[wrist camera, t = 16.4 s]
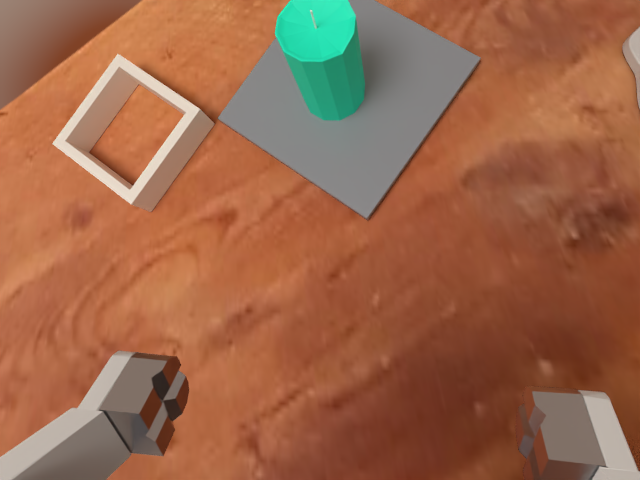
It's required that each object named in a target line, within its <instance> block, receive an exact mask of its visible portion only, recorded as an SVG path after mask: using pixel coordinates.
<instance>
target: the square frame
mask: <svg viewBox="0 0 640 480" xmlns="http://www.w3.org/2000/svg"><path fill="white" fill-rule="evenodd" d="M139 84H140V85H141V86H143V87H144V88H146V89H147V90H149V91H150V92H152V93H153V94H154V95H156V96H157V97H159V98H160V99H162V100H163V101H165V102H166V103H168V104H169V105H171V106H172V107H174V108H175V109H176V110H178V111H179V112H181V113H182V114H184V116H183V117H182V119H181V120H180V122H179V123H178V124H177V126H176V127H175V128H174V130H173V131H172V133H171V134H170V135H169V137H168V138H167V140H166V141H165V142H164V144H163V145H162V146H161V148H160V149H159V151H158V152H157V153H156V155H155V156H154V158H153V159H152V160H151V162H150V163H149V164H148V166H147V167H146V169H145V170H144V171H143V173H142V174H141V175H140V177H139V178H138V180H137V181H136V182H135V184H134V185H133V186H132V185H131V184H130V183H129V182H127V181H126V180H125V179H123V178H122V177H121V176H119V175H118V174H117V173H115V172H114V171H113V170H111V169H110V168H109V167H107V166H106V165H105V164H103V163H102V162H101V161H99V160H98V159H97V158H95V157H94V156H93V155H91V154H90V153H89V152H90V150H91V149H92V148H93V146H94V145H95V144H96V142H97V141H98V139H99V138H100V137H101V135H102V134H103V133H104V131H105V130H106V128H107V127H108V126H109V124H110V123H111V122H112V120H113V119H114V117H115V116H116V115H117V113H118V112H119V111H120V109H121V108H122V106H123V105H124V104H125V102H126V101H127V100H128V98H129V97H130V95H131V94H132V93H133V91H134V90H135V89H136V87H137V86H138V85H139ZM214 124H215V123H214V122H213V121H212V120H211V119H210V118H209V117H208V116H207V115H206V114H205V113H204V112H203V111H202V110H201V109H199V108H198V107H196V106H195V105H193V104H192V103H190V102H189V101H187V100H186V99H184V98H183V97H181V96H180V95H178V94H177V93H176V92H174V91H173V90H171V89H170V88H168V87H167V86H165V85H164V84H162V83H161V82H159V81H158V80H156V79H155V78H153V77H152V76H150V75H149V74H147V73H146V72H144V71H143V70H141V69H140V68H138V67H137V66H135V65H134V64H132V63H131V62H129V61H128V60H126V59H125V58H124V57H122V56H121V55H119V54H117V56H116V57H115V59H114V60H113V61H112V63H111V64H110V65H109V67H108V68H107V70H106V71H105V72H104V74H103V75H102V76H101V78H100V79H99V80H98V82H97V83H96V85H95V86H94V87H93V89H92V90H91V91H90V93H89V94H88V96H87V97H86V98H85V100H84V101H83V102H82V104H81V105H80V106H79V108H78V109H77V111H76V112H75V113H74V115H73V116H72V117H71V119H70V120H69V122H68V123H67V124H66V126H65V127H64V128H63V130H62V131H61V133H60V134H59V135H58V137H57V138H56V139H55V141H54V142H53V143H52V144H53V145H55V146H56V147H57V148H58V149H60V150H61V151H62V152H64V153H65V154H66V155H68V156H69V157H70V158H71V159H73V160H74V161H75V162H77V163H78V164H79V165H81V166H82V167H83V168H84V169H86V170H87V171H88V172H90V173H91V174H92V175H94V176H95V177H96V178H97V179H99V180H100V181H101V182H103V183H104V184H105V185H107V186H108V187H109V188H110V189H112V190H113V191H114V192H116V193H117V194H118V195H120V196H121V197H122V198H123V199H125V200H126V201H127V202H129V203H130V204H131V205H134V206H137V207H139V208H142V209H144V210H147V211H150V212H152V210H153V209H154V208H155V206H156V205H157V203H158V202H159V201H160V199H161V198H162V196H163V195H164V194H165V192H166V191H167V190H168V188H169V187H170V185H171V184H172V183H173V181H174V180H175V178H176V177H177V176H178V174H179V173H180V172H181V170H182V169H183V167H184V166H185V165H186V163H187V162H188V160H189V159H190V158H191V156H192V155H193V154H194V152H195V151H196V149H197V148H198V147H199V145H200V144H201V142H202V141H203V140H204V138H205V137H206V135H207V134H208V133H209V131H210V130H211V129H212V127H213V126H214Z"/></svg>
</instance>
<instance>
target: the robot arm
mask: <svg viewBox="0 0 640 480" xmlns="http://www.w3.org/2000/svg"><path fill="white" fill-rule="evenodd" d="M622 48H623V53H624V56H625V58H626V60H627V62H628V64H629V66H630V67H631V69H632V71H633V72H634V74H635V78H636V84H637V99H638V105H639V109H640V26H639V27H638V28H637V29H636V30H635V31H634V32H633V33H632V34H631V35H630V36H629V37H628V38H627V39H626V40H625V42H624V43H623V47H622ZM180 366H181V364H180V362H179V360H178V358H177V356H167V355H157V354H147V353H139V352H128V351H117V352H116V353H115V354H114V355H112V356H111V358H110V359H109V361H108V362H107V364H106V365H105V367H104V368H103V370H102V372H101V373H100V375H99V376H98V378H97V379H96V381H95V382H94V384H93V385H92V387H91V388H90V390H89V391H88V393H87V394H86V396H85V397H84V399H83V400H82V402H81V404H80V405H79V407H78V408H71V409H69V410H68V411H67V412H65V413H64V414H62V415H61V416H59V417H58V418H56V419H55V420H54V421H52V422H51V423H49V424H48V425H46V426H45V427H43V428H42V429H40V430H39V431H38V432H36V433H35V434H33V435H32V436H30V437H29V438H27V439H26V440H25V441H23V442H22V443H20V444H19V445H17V446H16V447H14V448H13V449H11V450H10V451H9V452H7V453H6V454H4V455H3V456H1V457H0V480H106V479H107V478H108V477H109V476H110V475H111V474H112V473H113V472H114V471H115V470H116V469H117V468H118V467H119V466H121V465H122V464H123V463H124V462H125V461H126V460H127V459H128V458H129V457H130V456H131V453H136V454H146V455H157V456H164V454H165V451H166V449H167V447H168V445H169V442H170V440H171V438H172V436H173V434H174V431H175V428H174V424H173V421H174V420H175V419H176V418H177V417H179V416H180V415H181V414H182V413H183V411H184V408H185V406H186V404H187V400H188V394H189V384H188V380H187V378H186V376H185V375H184V374H183V373H181V372H180V371H179V368H180ZM523 400H524V404H523V405H521V406H520V407H518V411H517V415H516V438H517V444H518V450H519V451H520V452H521V453H522V455H523V456H524V457H525V458H526V459H527V460H526V463H525V466H524V468H523V475H524V480H640V471H638V468H637V466H636V463H635V461H634V458H633V456H632V453H631V451H630V448H629V446H628V443H627V441H626V438H625V436H624V433H623V431H622V428H621V426H620V423H619V421H618V418H617V416H616V413H615V411H614V408H613V406H612V403H611V401H610V398H609V397H608V396H607V395H606V393H604V392H600V391H585V390H576V389H568V388H554V387H539V386H527V387H526V388H525V389H524V392H523Z"/></svg>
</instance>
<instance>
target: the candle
mask: <svg viewBox="0 0 640 480" xmlns="http://www.w3.org/2000/svg"><path fill="white" fill-rule="evenodd" d="M275 35H276V38H277V40H278V42H279V44H280V47H281V49H282V51H283V53H284V56H285V58H286V60H287V62H288V65H289V67H290V69H291V71H292V74H293V76H294V78H295V80H296V83H297V85H298V87H299V89H300V92H301V94H302V96H303V98H304V101H305V103H306V105H307V106H308V108H309V110H310V112H311V113H312V114H314V115H316V116H317V117H319V118H321V119H322V120H337V121H340V120H342V119H344V118H346V117H348V116H350V115H351V114H353V113H355V112H356V110H357V109H358V107H359V106H360V104H361V103H362V101H363V100H364V92H365V79H364V72H363V65H362V57H361V50H360V43H359V35H358V28H357V21H356V15H355V13H354V11H353V9H352V7H351V5H350V3H349V1H348V0H291V1H289V3H288V4H287V5H286V7H285V8H284V9H283V10H282V12H281V13H280V14H279V15H278V17H277V23H276V29H275Z"/></svg>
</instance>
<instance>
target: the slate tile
mask: <svg viewBox="0 0 640 480" xmlns="http://www.w3.org/2000/svg"><path fill="white" fill-rule="evenodd" d="M348 1H349V3H350V5H351V7H352V9H353V11H354V13H355V15H356V21H357V28H358V35H359V43H360V50H361V57H362V65H363V72H364V79H365V92H364V100H363V101H362V103H361V104H360V106H359V107H358V109H357V110H356V112H355V113H353V114H351V115H350V116H348V117H346V118H344V119H342V120H340V121H337V120H322V119H321V118H319V117H317V116H316V115H314V114H312V113H311V112H310V110H309V108H308V106H307V105H306V103H305V101H304V98H303V96H302V94H301V92H300V89H299V87H298V85H297V83H296V80H295V78H294V76H293V74H292V71H291V69H290V67H289V65H288V62H287V60H286V58H285V56H284V53H283V51H282V49H281V47H280V44H279V42H278V40H277V38H275V40H274V41H273V42H272V44H271V45H270V46H269V48H268V49H267V51H266V52H265V53H264V55H263V56H262V58H261V59H260V60H259V62H258V63H257V64H256V66H255V67H254V69H253V70H252V71H251V73H250V74H249V76H248V77H247V78H246V80H245V81H244V82H243V84H242V85H241V87H240V88H239V89H238V91H237V92H236V94H235V95H234V96H233V98H232V99H231V101H230V102H229V103H228V105H227V106H226V107H225V109H224V110H223V112H222V113H221V114H220V116H219V117H218V119H219V120H220V121H221V122H222V123H223V124H225V125H226V126H228V127H229V128H231V129H232V130H234V131H235V132H237V133H238V134H240V135H241V136H242V137H244V138H245V139H247V140H248V141H250V142H251V143H253V144H254V145H256V146H257V147H259V148H260V149H262V150H263V151H265V152H266V153H268V154H269V155H271V156H272V157H274V158H275V159H277V160H278V161H280V162H281V163H283V164H284V165H286V166H287V167H289V168H290V169H292V170H293V171H295V172H296V173H298V174H299V175H301V176H302V177H303V178H305V179H306V180H308V181H309V182H311V183H312V184H314V185H315V186H317V187H318V188H320V189H321V190H323V191H324V192H326V193H327V194H329V195H330V196H332V197H333V198H335V199H336V200H338V201H339V202H341V203H342V204H344V205H345V206H347V207H348V208H350V209H351V210H353V211H354V212H356V213H357V214H359V215H360V216H362V217H363V218H364V219H366V220H367V221H368V219H369V218H370V216H371V215H372V214H373V212H374V211H375V209H376V208H377V207H378V205H379V204H380V202H381V201H382V200H383V198H384V197H385V195H386V194H387V192H388V191H389V190H390V188H391V187H392V185H393V184H394V183H395V181H396V180H397V178H398V177H399V176H400V174H401V173H402V171H403V170H404V168H405V167H406V166H407V164H408V163H409V161H410V160H411V159H412V157H413V156H414V154H415V153H416V152H417V150H418V149H419V147H420V146H421V144H422V143H423V142H424V140H425V139H426V137H427V136H428V135H429V133H430V132H431V130H432V129H433V128H434V126H435V125H436V123H437V122H438V120H439V119H440V118H441V116H442V115H443V113H444V112H445V111H446V109H447V108H448V106H449V105H450V104H451V102H452V101H453V99H454V98H455V96H456V95H457V94H458V92H459V91H460V89H461V88H462V87H463V85H464V84H465V82H466V81H467V80H468V78H469V77H470V75H471V74H472V72H473V71H474V70H475V68H476V67H477V65H478V64H479V61H480V59H481V58H480V57H478V56H476V55H474V54H473V53H471V52H469V51H467V50H465V49H463V48H462V47H460V46H458V45H456V44H454V43H452V42H450V41H449V40H447V39H445V38H443V37H441V36H439V35H437V34H436V33H434V32H432V31H430V30H428V29H426V28H425V27H423V26H421V25H419V24H417V23H415V22H413V21H412V20H410V19H408V18H406V17H404V16H402V15H400V14H399V13H397V12H395V11H393V10H391V9H389V8H388V7H386V6H384V5H382V4H380V3H378V2H376V1H375V0H348Z"/></svg>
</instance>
